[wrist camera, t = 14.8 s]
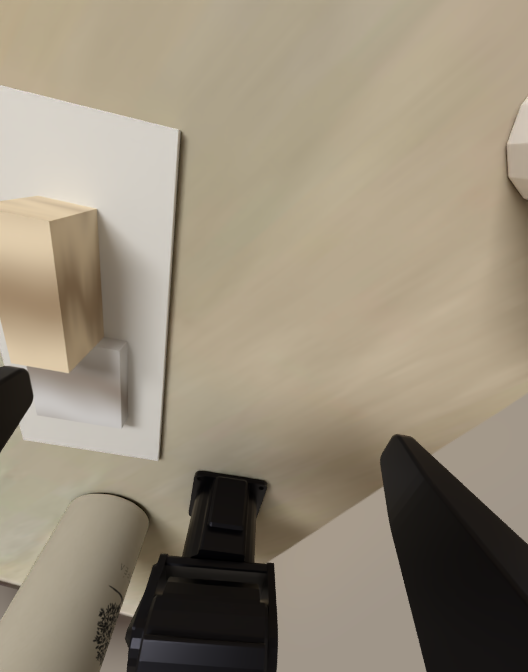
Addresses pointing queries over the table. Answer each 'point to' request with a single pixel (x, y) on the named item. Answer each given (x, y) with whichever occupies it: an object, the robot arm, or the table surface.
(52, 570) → the travel mug
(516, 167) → the white cup
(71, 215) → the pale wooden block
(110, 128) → the mat
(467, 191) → the table surface
